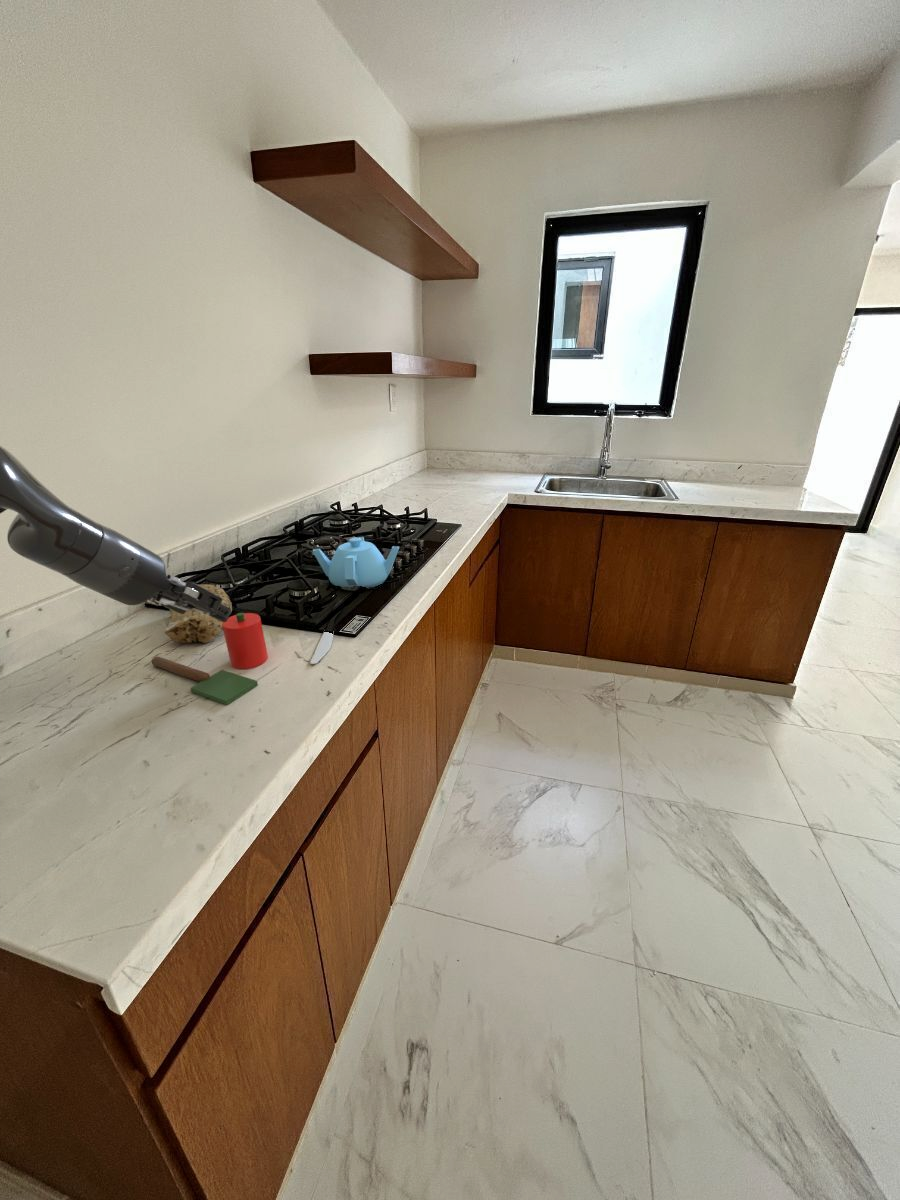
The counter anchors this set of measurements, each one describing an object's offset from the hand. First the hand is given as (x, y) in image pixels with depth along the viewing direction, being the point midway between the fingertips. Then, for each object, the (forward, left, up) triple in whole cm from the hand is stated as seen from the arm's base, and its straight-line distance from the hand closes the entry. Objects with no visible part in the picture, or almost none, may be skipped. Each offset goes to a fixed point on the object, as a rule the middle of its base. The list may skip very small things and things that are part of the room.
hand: (205, 611), depth 76 cm
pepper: (0, +6, -12) cm, 13 cm away
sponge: (-20, +12, -12) cm, 27 cm away
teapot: (-5, +44, -12) cm, 46 cm away
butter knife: (+5, +21, -12) cm, 25 cm away
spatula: (-4, -2, -12) cm, 12 cm away
